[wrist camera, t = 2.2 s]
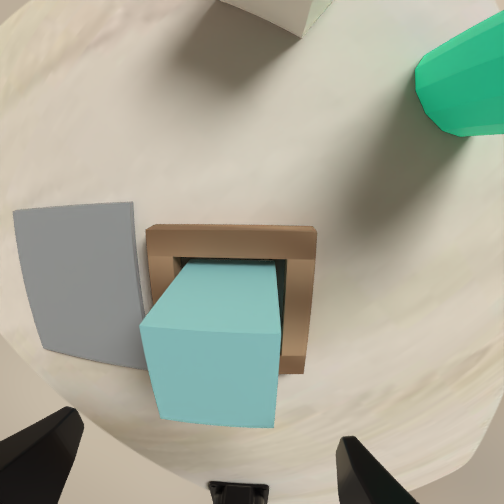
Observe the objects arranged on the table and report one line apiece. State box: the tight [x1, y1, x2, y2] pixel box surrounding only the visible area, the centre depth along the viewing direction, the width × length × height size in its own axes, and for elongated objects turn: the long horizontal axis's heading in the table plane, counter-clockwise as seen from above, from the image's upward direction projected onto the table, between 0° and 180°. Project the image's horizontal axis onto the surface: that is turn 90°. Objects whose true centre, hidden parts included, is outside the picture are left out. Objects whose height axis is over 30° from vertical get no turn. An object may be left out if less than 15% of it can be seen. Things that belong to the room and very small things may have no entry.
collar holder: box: [146, 224, 317, 374], centre depth 17 cm, size 9×9×2 cm
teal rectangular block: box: [139, 259, 281, 428], centre depth 14 cm, size 5×5×8 cm
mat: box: [13, 202, 148, 370], centre depth 18 cm, size 12×11×1 cm
